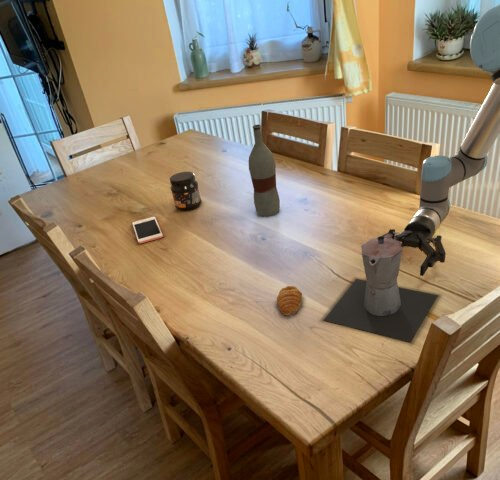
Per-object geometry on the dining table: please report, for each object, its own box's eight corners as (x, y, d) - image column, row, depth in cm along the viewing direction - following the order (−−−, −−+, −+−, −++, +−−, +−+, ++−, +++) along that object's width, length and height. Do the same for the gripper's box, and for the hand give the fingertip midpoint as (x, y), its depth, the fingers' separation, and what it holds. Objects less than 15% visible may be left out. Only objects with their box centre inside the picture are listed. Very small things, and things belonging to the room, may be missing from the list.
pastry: (302, 316, 127) (301, 303, 124) (276, 318, 128) (274, 306, 125) (302, 295, 134) (301, 283, 132) (277, 297, 135) (275, 285, 133)
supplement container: (170, 208, 194) (162, 178, 186) (191, 198, 199) (184, 168, 191) (186, 214, 187) (178, 183, 180) (207, 203, 192) (201, 173, 185)
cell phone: (155, 218, 188) (154, 216, 188) (163, 237, 174) (162, 235, 174) (132, 224, 187) (131, 222, 186) (138, 244, 173) (138, 241, 172)
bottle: (284, 213, 175) (274, 126, 157) (259, 220, 174) (246, 132, 156) (276, 204, 182) (266, 119, 164) (252, 210, 181) (239, 125, 163)
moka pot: (354, 320, 122) (352, 248, 110) (371, 286, 132) (371, 217, 120) (393, 326, 118) (396, 252, 106) (407, 290, 128) (411, 219, 116)
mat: (437, 295, 125) (437, 295, 125) (410, 342, 113) (410, 342, 113) (356, 279, 136) (356, 278, 136) (323, 320, 124) (323, 319, 124)
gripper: (467, 246, 134) (444, 288, 121) (378, 234, 146) (348, 270, 133) (470, 221, 129) (447, 261, 116) (378, 210, 141) (347, 245, 128)
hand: (394, 266), depth 124 cm, fingers open, 13 cm apart
